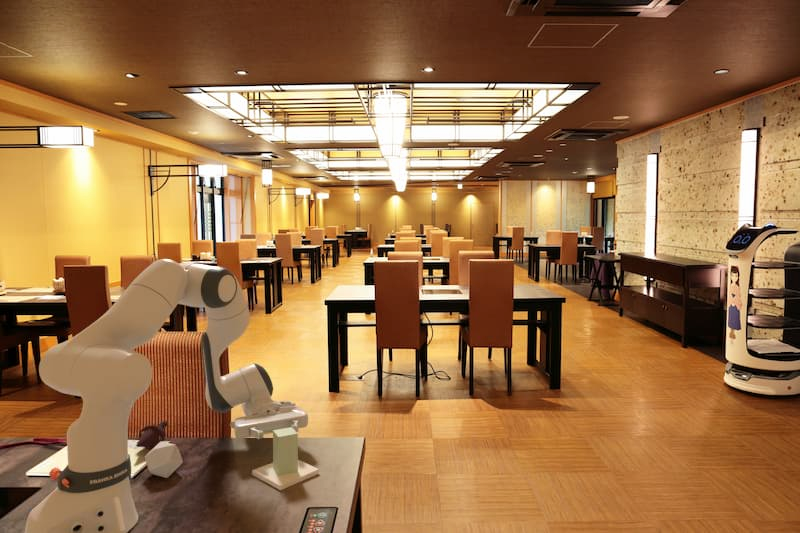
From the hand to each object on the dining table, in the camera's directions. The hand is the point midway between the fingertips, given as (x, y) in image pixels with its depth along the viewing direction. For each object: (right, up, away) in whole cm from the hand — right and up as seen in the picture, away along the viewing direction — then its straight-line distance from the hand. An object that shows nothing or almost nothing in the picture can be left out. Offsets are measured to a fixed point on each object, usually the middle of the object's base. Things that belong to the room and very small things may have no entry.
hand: (278, 432), depth 145 cm
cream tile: (+3, -9, -6) cm, 11 cm away
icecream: (-38, -8, +10) cm, 40 cm away
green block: (+3, -8, -6) cm, 10 cm away
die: (-28, -9, -6) cm, 30 cm away
